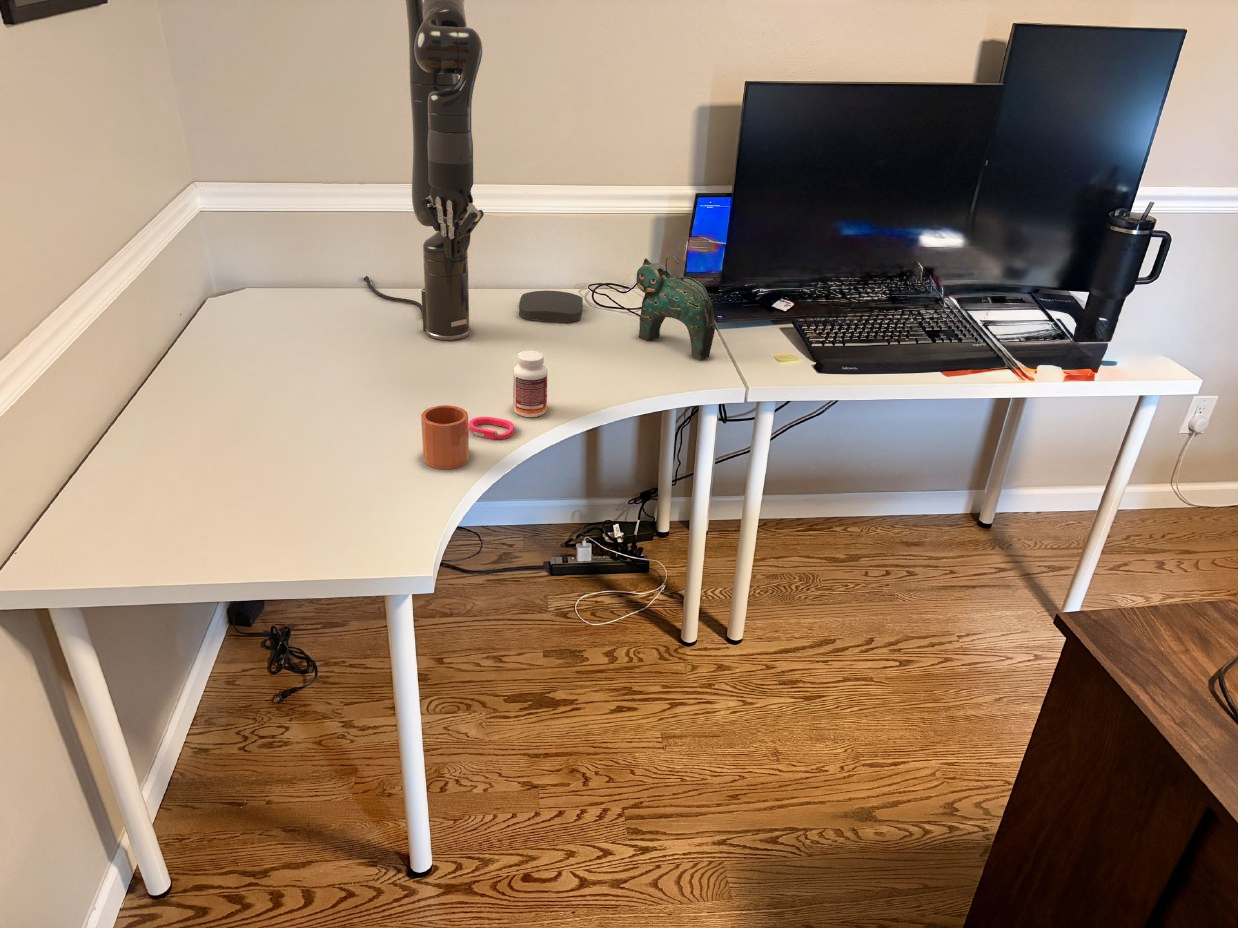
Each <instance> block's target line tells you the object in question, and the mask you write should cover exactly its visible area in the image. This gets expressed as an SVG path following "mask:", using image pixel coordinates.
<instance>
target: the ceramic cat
mask: <svg viewBox="0 0 1238 928" xmlns="http://www.w3.org/2000/svg"><path fill="white" fill-rule="evenodd" d="M669 258H672V259H673V260H674V261H675V262H676V263H677V265H679V264H680V261H679V260H678V258H677V257H676V256H675V255H673V254H671V255H668V256H666V259H665V264H664V263H662V262H655V263H652V262H651V261H650V260H649V259H648V258H646V257H645V258H644V259H643V262H642V265H641V266H640V267H639V268H638V269H637V271H636V287H637V288H638V289H639V290H640V291H641V292H642V293H644V296H643V299H642V302H641V307H640V308H641V309H640V315H639V330H638V338H639V339H642V340H644V341H646V342H652V341H654V340H657V339H659V338H660V337H661V336H660V335H661V328H662V324H663V322H664V321H665V320H666V318H670V319H675V320H677V321H679V322H681V323H682V324H684V326H685V327H686V329H687V332H688V336H689V341H690V348H691V349H690V350H691V358H692V359H695V360H698V361H703V360H705V359H708V358H710V354H711V351H712V346H713V340H714V337H715V332H716V329H715V316H714V315H715V314H714V307H713V303H712V300H711V298H710V296H709V293H708V290H707V289H706V287H705V286H704V285H703V284H702V283H701V282H700V281H699V280H697V279H695V278H693V277H690V276H673V274H672V273H671V271H670V270H669V268H668V266H667V265H668V264H667V263H668V259H669Z"/></svg>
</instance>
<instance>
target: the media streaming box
mask: <svg viewBox="0 0 1238 928" xmlns="http://www.w3.org/2000/svg"><path fill="white" fill-rule="evenodd" d="M583 301H584V298H583V297H582V296H580V295H578V294H575V293H572V292H567V291H561V290H534V291H528V292H525V293H523V294H522V295H521V296H520V299H519V302H518V315H519V317H520V318H522V319H526V320H529V321H530V320H531V321H541V322H543V321H544V322H560V323H561V322H562V323H572V322H577V321H579V320H580V319H581V318H582V315H583V307H584V306H583V304H584V303H583Z"/></svg>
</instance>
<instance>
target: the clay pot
mask: <svg viewBox="0 0 1238 928" xmlns="http://www.w3.org/2000/svg"><path fill="white" fill-rule="evenodd" d="M420 419H421V420H420V421H421V437H422V438H421V441H422V457H423V462H424V463H425V465H426V466H428V467H430V468H433V469H437V470H453V469H457V468H458V469H459V468H460V467H463V466H464V465H466V464H467V463H468V461H469V459H470V440H469V439H470V436H469V435H470V433H469V414H468V411H466V410H465V409H464V408H462V407H459V406H456V405H450V404H441V405H435V406H431V407H429V408H427V409H425V410H423V411H422V413H421V414H420Z"/></svg>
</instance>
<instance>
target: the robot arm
mask: <svg viewBox="0 0 1238 928" xmlns="http://www.w3.org/2000/svg"><path fill="white" fill-rule="evenodd" d="M405 6H406V7H405V8H406V9H405V10H406V18H407V28H408V55H409V56H408V58H409V60H408V61H409V63H408V64H409V65H408V66H409V91H410V92H409V94H410V107H411V121H412V123H411V124H412V125H411V126H412V168H411V169H412V171H411V172H412V173H411V203H412V209H413V213H414V215H415V218H416V220H417V221H418V222H419V224H420V225H422V226H424V227H432V228H433V230H434V231H435V233H434V234H432V235H431V236H430V237H428V238H427V239H426V240H425V241H424V242H423V244H422V256H423V257H422V258H423V276H424V277H423V278H424V279H423V280H424V281H423V282H424V288H422V289H421V293H420V294H421V303H420V302H418V301H416V300H413V299H408V298H402V297H395V296H391V295H387V294H385V293H382V292H380V291H378V290H377V289H375V288H374V286H373V285H372V284H371V281H370V278H369V276H368V275H365V276H366V277H365V276H364V277H363V281H365V282H366V285H367V287H368V288H369V289H370V290H371V292H372V293H374V294H375V295H376V296H378V297H380V298H383V299H386V300H389V301H395V302H403V303H409V304H412V305H415V306H417V307H418V308H419V309H420V313H421V319H422V331H423V333H426V335H427V336H428V337H430V338H432V339H435V340H440V341H455V340H456V341H457V340H461V339H464V338H467V337H468V336H470V334H471V327H470V297H469V296H470V292H469V290H470V289H469V288H470V287H469V285H470V284H469V247H470V245H471V234H472V232H473V231H474V229H475V228H476V227H477V225H478V224H479V223H480V221H481V220H482V218H483V217H484V215H485V213H484V210H482V209H477V207H476V206H475V205H474V204H473V203H474V198H473V195H472V188H473V186H474V139H473V132H472V131H473V130H472V103H473V95H474V90H475V85H476V80H477V76H478V73H479V69H480V65H481V63H482V57H483V42H482V39H481V37H480V35H479V33H478V32H477V31H476V30H475V29H474V28H472V27H468V25H467V18H466V13H465V12H466V11H465V0H405Z"/></svg>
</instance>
